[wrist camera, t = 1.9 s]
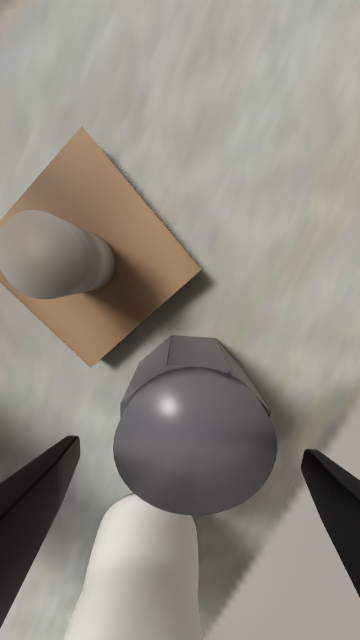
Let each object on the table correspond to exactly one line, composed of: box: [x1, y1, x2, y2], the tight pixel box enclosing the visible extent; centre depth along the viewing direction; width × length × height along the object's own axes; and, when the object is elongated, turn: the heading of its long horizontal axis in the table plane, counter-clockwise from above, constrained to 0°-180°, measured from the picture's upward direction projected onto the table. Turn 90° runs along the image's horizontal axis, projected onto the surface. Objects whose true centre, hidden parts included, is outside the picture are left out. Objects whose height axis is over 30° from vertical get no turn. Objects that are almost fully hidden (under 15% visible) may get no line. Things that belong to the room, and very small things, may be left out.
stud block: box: [0, 127, 201, 368], centre depth 9 cm, size 8×8×5 cm
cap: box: [113, 336, 277, 515], centre depth 11 cm, size 6×6×5 cm
